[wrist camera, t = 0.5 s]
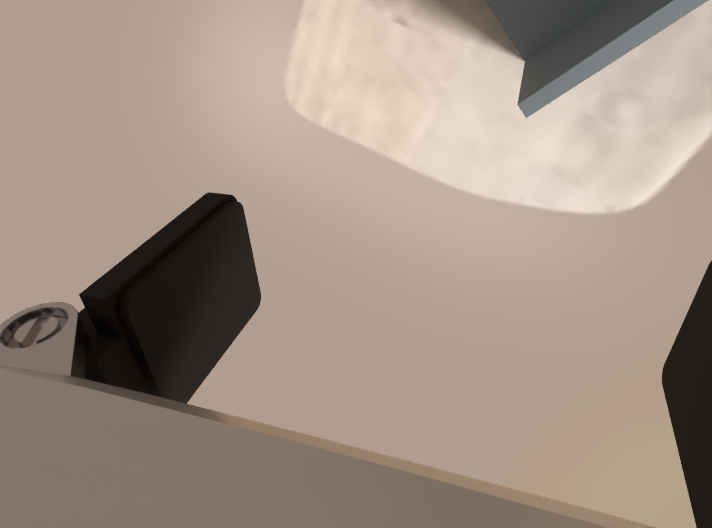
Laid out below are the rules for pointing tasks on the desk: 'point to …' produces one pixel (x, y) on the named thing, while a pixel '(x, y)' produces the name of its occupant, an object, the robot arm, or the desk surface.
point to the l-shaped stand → (578, 38)
